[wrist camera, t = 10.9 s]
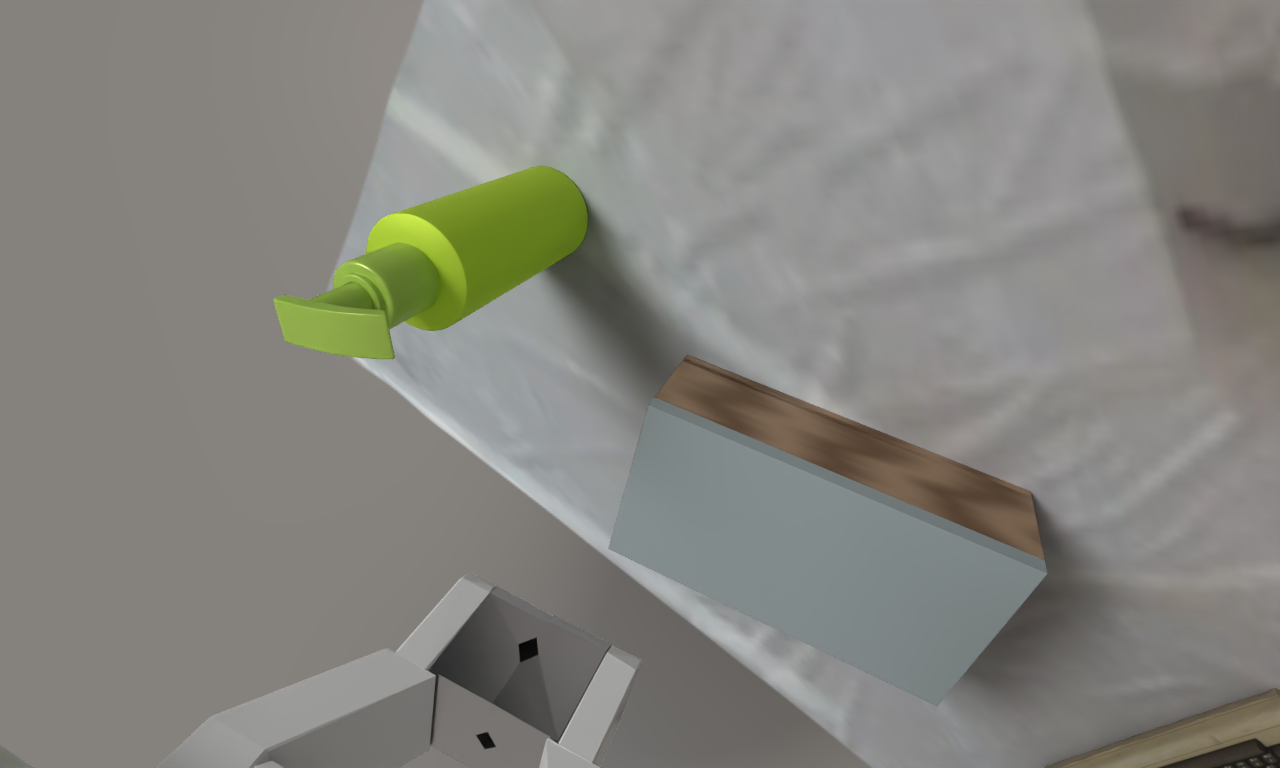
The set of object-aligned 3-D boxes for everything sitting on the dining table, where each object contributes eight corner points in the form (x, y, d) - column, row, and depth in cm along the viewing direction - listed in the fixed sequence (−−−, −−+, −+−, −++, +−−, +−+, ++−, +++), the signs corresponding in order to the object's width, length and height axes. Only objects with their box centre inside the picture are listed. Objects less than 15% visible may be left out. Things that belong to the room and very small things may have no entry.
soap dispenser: (604, 264, 42) (395, 409, 26) (512, 252, 45) (266, 380, 28) (601, 170, 39) (365, 267, 23) (503, 163, 42) (224, 247, 25)
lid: (1044, 560, 33) (1047, 573, 33) (937, 692, 40) (936, 706, 39) (654, 397, 38) (648, 405, 37) (614, 539, 44) (608, 548, 44)
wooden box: (1030, 491, 38) (1044, 559, 33) (936, 618, 45) (936, 690, 40) (687, 354, 43) (655, 396, 38) (647, 487, 49) (615, 537, 44)
